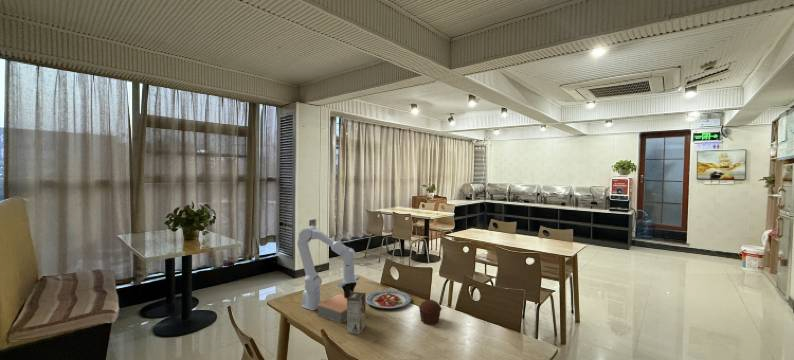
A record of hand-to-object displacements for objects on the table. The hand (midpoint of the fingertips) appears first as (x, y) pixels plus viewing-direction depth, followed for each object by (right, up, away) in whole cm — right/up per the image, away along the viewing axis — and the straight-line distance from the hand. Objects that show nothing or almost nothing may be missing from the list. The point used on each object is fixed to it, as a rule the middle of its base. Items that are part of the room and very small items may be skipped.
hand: (348, 296), depth 180 cm
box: (-4, -7, -5) cm, 10 cm away
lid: (-4, -2, -5) cm, 7 cm away
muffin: (+43, -8, -13) cm, 45 cm away
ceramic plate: (+21, -7, +11) cm, 25 cm away
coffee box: (+7, -8, -22) cm, 24 cm away
